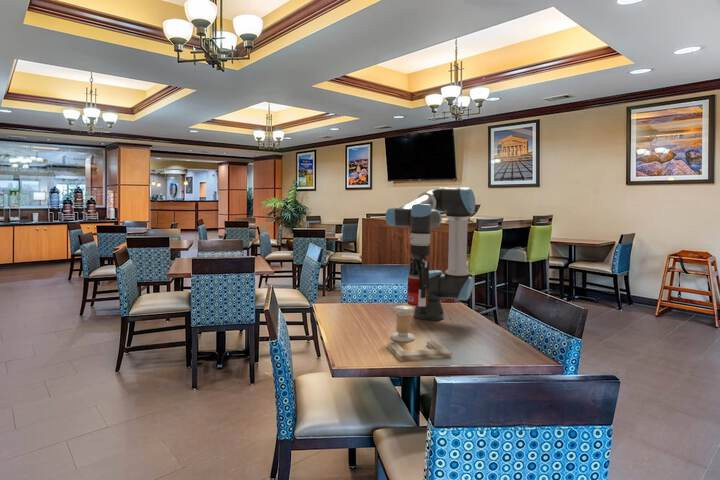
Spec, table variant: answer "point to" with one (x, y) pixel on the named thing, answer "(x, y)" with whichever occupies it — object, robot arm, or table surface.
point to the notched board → (420, 352)
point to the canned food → (414, 290)
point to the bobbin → (403, 324)
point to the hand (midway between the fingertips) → (417, 303)
